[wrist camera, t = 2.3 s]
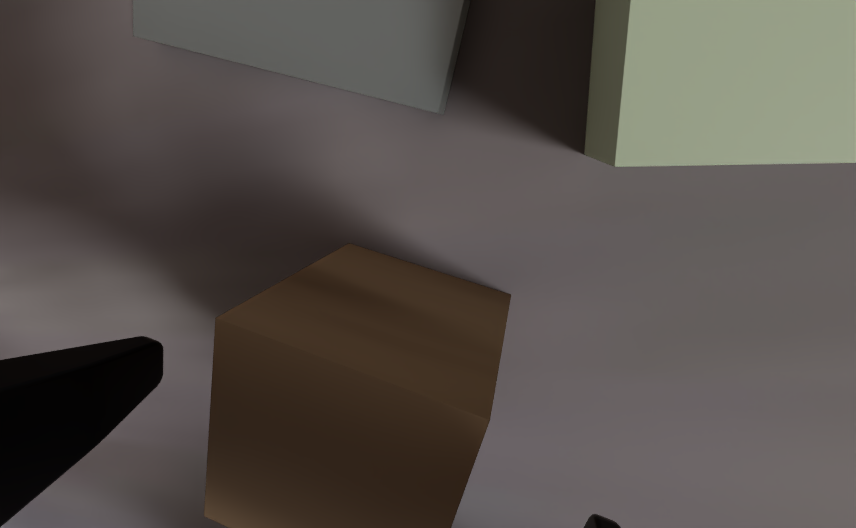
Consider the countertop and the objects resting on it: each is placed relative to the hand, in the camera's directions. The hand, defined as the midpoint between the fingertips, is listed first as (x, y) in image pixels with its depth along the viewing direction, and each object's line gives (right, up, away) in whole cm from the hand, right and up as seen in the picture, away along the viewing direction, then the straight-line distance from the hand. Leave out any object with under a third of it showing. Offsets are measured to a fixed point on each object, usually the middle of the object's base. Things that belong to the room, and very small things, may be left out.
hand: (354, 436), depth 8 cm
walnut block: (+1, +1, +4) cm, 4 cm away
